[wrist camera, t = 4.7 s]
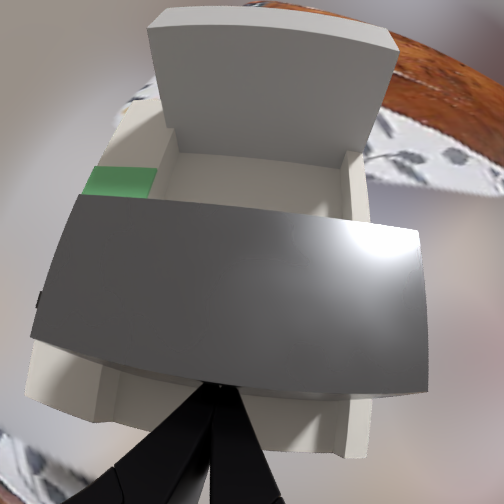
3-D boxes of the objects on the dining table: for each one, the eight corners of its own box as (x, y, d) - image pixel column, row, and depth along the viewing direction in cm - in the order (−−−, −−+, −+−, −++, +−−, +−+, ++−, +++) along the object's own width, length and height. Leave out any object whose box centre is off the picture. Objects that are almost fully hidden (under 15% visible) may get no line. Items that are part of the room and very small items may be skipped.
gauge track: (347, 450, 13) (475, 490, 4) (55, 399, 13) (-89, 367, 4) (348, 148, 22) (386, 28, 13) (141, 130, 22) (111, 15, 13)
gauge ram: (329, 401, 13) (427, 392, 6) (61, 354, 14) (-59, 299, 6) (334, 319, 15) (418, 230, 7) (79, 284, 15) (-16, 191, 8)
